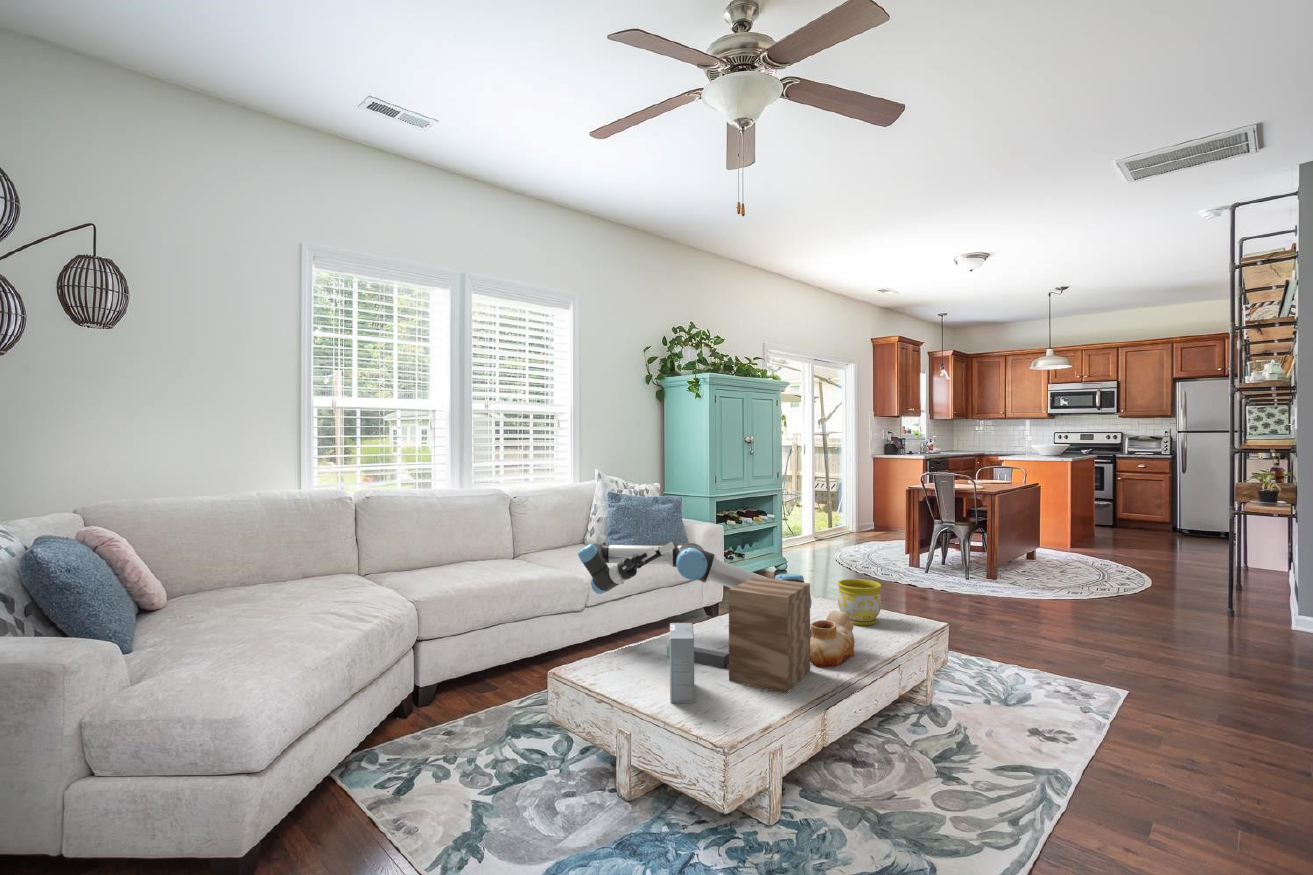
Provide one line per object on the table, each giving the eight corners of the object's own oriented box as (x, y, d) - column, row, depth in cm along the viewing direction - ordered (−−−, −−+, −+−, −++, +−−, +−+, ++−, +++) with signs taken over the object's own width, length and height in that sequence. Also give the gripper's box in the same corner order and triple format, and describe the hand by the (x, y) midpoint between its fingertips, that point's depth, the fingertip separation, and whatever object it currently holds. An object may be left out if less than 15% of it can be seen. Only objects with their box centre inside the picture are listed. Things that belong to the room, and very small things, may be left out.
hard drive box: (670, 683, 212) (670, 622, 212) (693, 683, 212) (693, 622, 211) (669, 703, 196) (669, 637, 196) (695, 703, 196) (694, 637, 196)
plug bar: (666, 656, 237) (666, 645, 237) (672, 653, 240) (672, 642, 240) (724, 668, 225) (724, 656, 225) (729, 664, 229) (728, 653, 228)
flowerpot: (831, 616, 287) (831, 579, 287) (870, 614, 289) (870, 578, 289) (847, 628, 269) (847, 588, 269) (889, 626, 271) (889, 587, 271)
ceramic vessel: (863, 651, 242) (863, 611, 242) (834, 672, 221) (834, 628, 221) (828, 643, 250) (828, 605, 250) (797, 663, 230) (797, 620, 230)
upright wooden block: (755, 660, 233) (755, 576, 232) (810, 670, 222) (810, 583, 222) (728, 680, 214) (728, 589, 214) (787, 693, 203) (786, 597, 203)
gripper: (645, 573, 262) (684, 551, 253) (608, 586, 241) (650, 562, 231) (637, 556, 264) (676, 533, 254) (600, 567, 243) (641, 543, 233)
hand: (663, 547), depth 243 cm, fingers open, 13 cm apart
